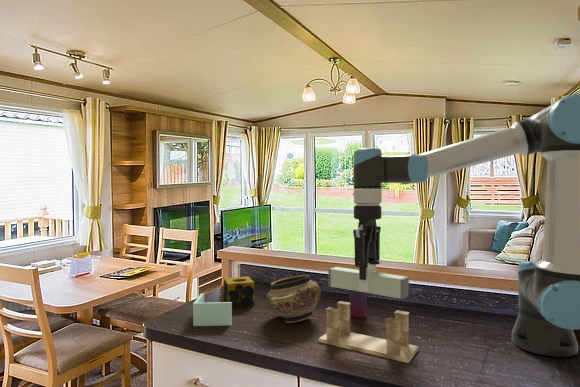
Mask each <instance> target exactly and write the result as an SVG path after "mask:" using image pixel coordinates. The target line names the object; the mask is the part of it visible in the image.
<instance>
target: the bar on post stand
mask: <svg viewBox="0 0 580 387" xmlns="http://www.w3.org/2000/svg"><path fill="white" fill-rule="evenodd" d="M336 305H337V308H336V307H331V306H330V307H329V306H328V307H327V308H325V312H326V333H325V334H323V335H321V336H320V337H319V338H318V343H322V344H326V345H330V346H334V347H339V348H343V349H348V350H351V351H355V352H358V353H364V354H368V355H371V356H372V355H373V356H376V357H381V358H385V359H389V360H394V361H398V362H403V363H406V364H409V363H410V362H411V360H412V359H413V358H414V357H415V355H416V354H417V353H418V352H419V346H418V345H413V344H410V341H409V340H410V338H409V337H410V336H409V332H410V331H409V330H410V329H409V328H410V327H409V323H410V322H409V315H410V312H409V311H404V310H403V311H402V310H397V309H396V310H395V311H394V312H393V314H394V316H395V317H387V318H386V319H385V320H384V322H385V323H386V324H385V326H386V327H385V331H386V332H385V333H386V335H385V337H386V339H385V338H380V337H376V336H371V335H366V334H363V333H362V334H360V333H358V332H357V333H356V332H351V315H350V305H351V303H349V301H342V300H339V301H338V302H336Z"/></svg>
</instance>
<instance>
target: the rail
mask: <svg viewBox="0 0 580 387" xmlns="http://www.w3.org/2000/svg"><path fill="white" fill-rule="evenodd" d="M327 274H328V275H327V276H328V278H327V283H328V284H327V286H328V287H330V288H337V289H343V290H347V291H349V290H354V291H359V269H356V268H355V269H354V268H348V267H340V266H334V267H333V266H332V267H331V268H328V273H327ZM409 284H410V277H409V276H405V275H399V274H391V273H384V272H377V271H376V272H370V271H369V292H365V293H367V294H373V295H378V296H384V297H389V298H396V299H401V300H405V299H406V298H408V297H409V290H410V288H409ZM359 292H364V291H359Z"/></svg>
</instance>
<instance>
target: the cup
mask: <svg viewBox="0 0 580 387" xmlns="http://www.w3.org/2000/svg"><path fill="white" fill-rule="evenodd" d="M367 294H368V293H365V292H359V291H354V290H348V300H349V301H348V302H349V303H351V305H350V317H352V318H354V319H355V318H357V319H362V318H365V317H366V316H367V315H366V314H367V312H366V311H367V299H368V298H367Z"/></svg>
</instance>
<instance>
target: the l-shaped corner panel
mask: <svg viewBox="0 0 580 387" xmlns="http://www.w3.org/2000/svg"><path fill="white" fill-rule="evenodd" d="M232 314H233V308H232V302H224V301H223V302H222V301H218V302H217V301H216V302H215V301H214V302H210V301H209V302H205V293H203V292H202V293H200V294H199V296H198V297H197V298H196V299H195V300H194V302H193V303H192V316H193V317H192V318H193V319H192V324H193V327H212V326H214V327H215V326H216V327H217V326H218V327H220V326H232V325H233V315H232Z"/></svg>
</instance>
